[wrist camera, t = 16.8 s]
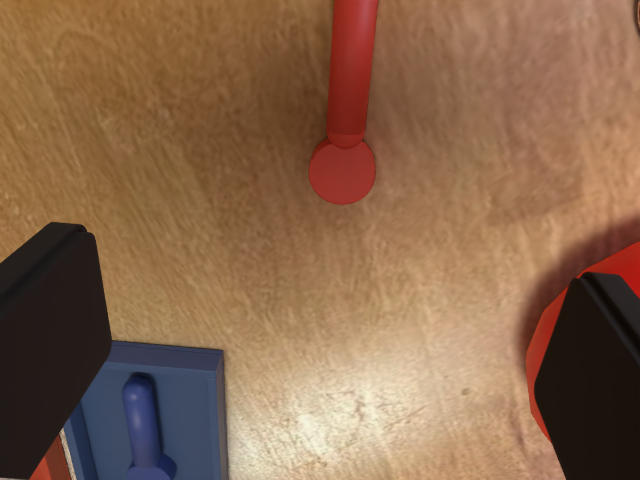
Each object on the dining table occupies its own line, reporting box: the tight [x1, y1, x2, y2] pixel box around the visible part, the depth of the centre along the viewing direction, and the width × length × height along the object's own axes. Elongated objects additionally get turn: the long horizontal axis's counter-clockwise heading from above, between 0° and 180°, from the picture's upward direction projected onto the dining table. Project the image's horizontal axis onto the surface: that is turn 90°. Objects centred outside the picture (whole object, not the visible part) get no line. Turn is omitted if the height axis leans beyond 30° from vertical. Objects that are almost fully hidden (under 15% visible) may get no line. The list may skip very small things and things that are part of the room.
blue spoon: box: [122, 377, 177, 480], centre depth 34 cm, size 11×3×2 cm, turn 177°
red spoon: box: [309, 0, 378, 205], centre depth 23 cm, size 11×3×2 cm, turn 177°
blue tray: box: [63, 341, 228, 480], centre depth 35 cm, size 15×10×2 cm
